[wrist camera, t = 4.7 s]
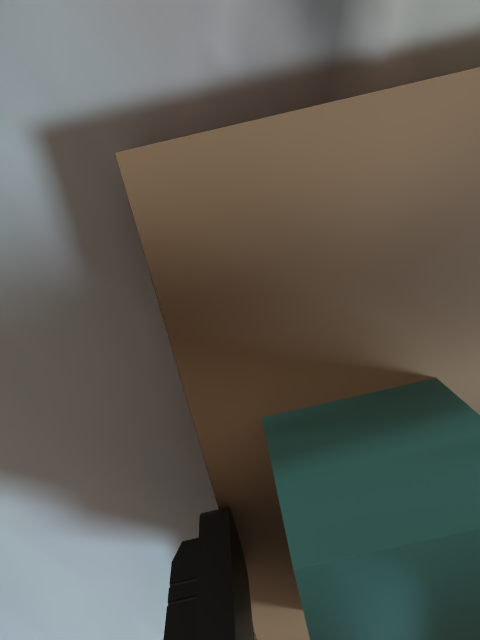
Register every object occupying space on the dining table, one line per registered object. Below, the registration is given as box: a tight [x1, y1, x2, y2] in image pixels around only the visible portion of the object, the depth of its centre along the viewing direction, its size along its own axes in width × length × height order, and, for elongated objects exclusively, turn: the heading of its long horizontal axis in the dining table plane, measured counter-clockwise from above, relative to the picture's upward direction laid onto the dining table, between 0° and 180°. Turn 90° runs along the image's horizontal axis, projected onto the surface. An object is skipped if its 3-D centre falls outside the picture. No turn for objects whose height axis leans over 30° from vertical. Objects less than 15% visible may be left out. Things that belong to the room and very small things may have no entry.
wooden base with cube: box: [115, 67, 480, 640], centre depth 9 cm, size 18×7×6 cm, turn 12°
